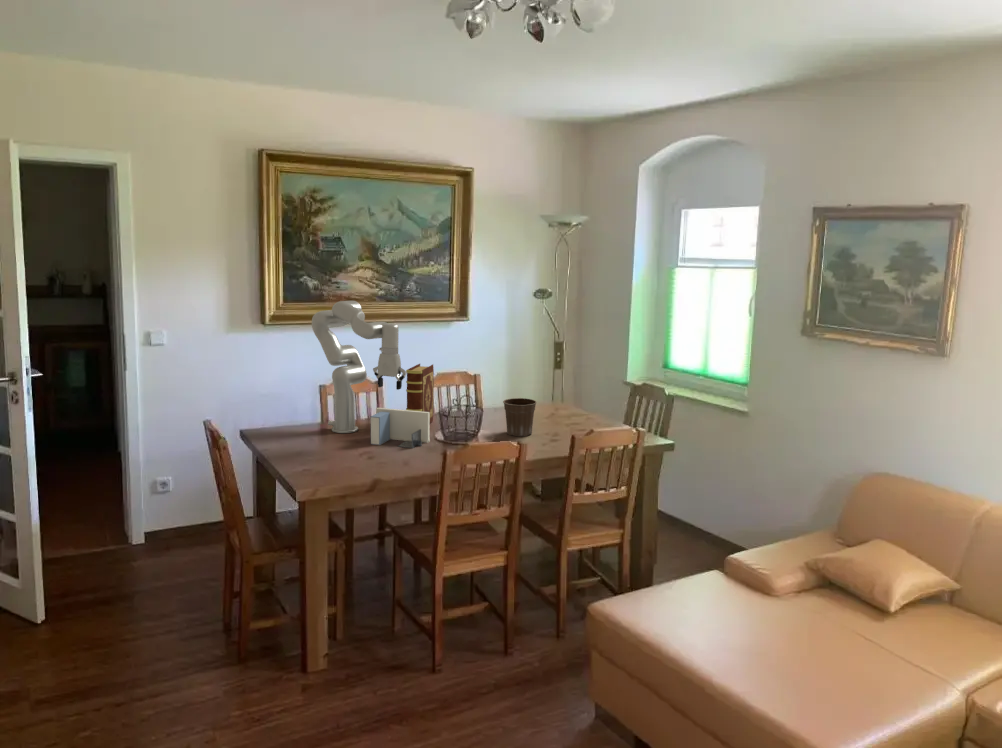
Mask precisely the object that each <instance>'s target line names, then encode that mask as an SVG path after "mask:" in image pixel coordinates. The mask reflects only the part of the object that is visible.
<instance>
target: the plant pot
mask: <svg viewBox="0 0 1002 748" xmlns="http://www.w3.org/2000/svg"><path fill="white" fill-rule="evenodd" d="M537 402H538V401H536V400H535V399H531V398H526V397H525V398H523V397H522V398H521V397H519V398H518V397H517V398H514V397H513V398H508V399H504V400H503V401H502V403H503V405H504V407H503V408H504V412H505V422H506V434H508V435H509V436H514V437H528V436H529V435H532V434H533V424H534V416H535V410H536V404H537Z"/></svg>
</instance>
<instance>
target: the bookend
mask: <svg viewBox="0 0 1002 748" xmlns="http://www.w3.org/2000/svg"><path fill="white" fill-rule="evenodd" d="M416 447H423V442H422V441H421V429H419V430H418V431H416V432H414V433H413V434H412V441H403V442H402V443H400V444H398V445H397V448H406V449H407V448H409V449H414V448H416Z"/></svg>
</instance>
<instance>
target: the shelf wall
mask: <svg viewBox="0 0 1002 748" xmlns="http://www.w3.org/2000/svg"><path fill="white" fill-rule="evenodd" d="M379 412H390V440H394V441H395V440H396V441H397V440H398V441H403V442H405V441H412V434H413V433H414V432H416V431H418V430H419V429H421V441H422V443H424V444H425V443H427V444H429V443H430V442H431V439H430V436H431V435H430V429H431V428H430V425H431V423H430V412H422V411H410V410H406V409H399V408H386V407H385V408H384V407H377V408H376V409H375V414H377V413H379Z"/></svg>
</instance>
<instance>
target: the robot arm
mask: <svg viewBox="0 0 1002 748" xmlns="http://www.w3.org/2000/svg"><path fill="white" fill-rule="evenodd" d="M362 309H363V308H362V306H361V304H360V303H359V302H358V301H356V300H340V301H337V302H336V303H334V304H333V306H332V307H331V309H328V310H320V311H318V312H316V313H314V314H313V315H312V318H311V328H312V331H313V333H314V335H315V337H316V339H317V340H318V342H319V343H320V346H321V348H322V350H323V352H324V353H323V354H324V355H325V357H326V360H327V361H328V364H329V365H331V366H334V367H336V368H334V370H333V371H332V374H331V379H332V384H333V392H334V394H333V395H334V420H328V423H327V425H328V426H332V428H331V431H332V432H333V433H336V434H350V433H355V432H358V431H359V427H358V426H357V425H356V418H355V417H356V408H355V407H356V404H355V403H356V402H355V401H356V399H355V391H354V390H353V388H352V385H358V384H362V383H363V382H365V381H366V380H367V376H368V375H367V374H368V373H367V369H366V367H365V364H364V363H363V360H362V358H361V356H360V353H359V352H358V350H357V348H356V347H355V346H353V345H351V344H345V345H344V344H343V345H342V344H341V342H340V341H339V339H338V337H337V335H336V334H335V333H334V332H333V331H332V330H330V328H339V327H340V328H342V327H344V326H348V325H349V326H350V327H351V329H352V331H353V333H354V334H355V335H356V336H359V337H361V338H362V339H365V340H374V339H375V340H376V339H381V347H379V351H380V352H381V353H379V357H378V360H377V361H378V362H377V366H374V367H373V368H372V371H373V373H374V375H375V377H376V379H377V388H383V387H384V378H383V377H389V378H390V377H391V378H394V377H395V378H396V381H395V382H396V386H395V387H396V391H397V390H398V391H399V390H401V389H402V386H403V385H402V384H403V383H402V382H403V380H404V379H405V378H406V377H407V372H406V370H405V369H403V367H402V363H401V362H402V361H401V356H400V354H399V325H398V324H396V323H388V322H386V321H374V322H373V321H371V322H367V321H365V319H366V314H365V313H364V311H363V310H362ZM338 366H339V367H338ZM401 374H402V375H401Z"/></svg>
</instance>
